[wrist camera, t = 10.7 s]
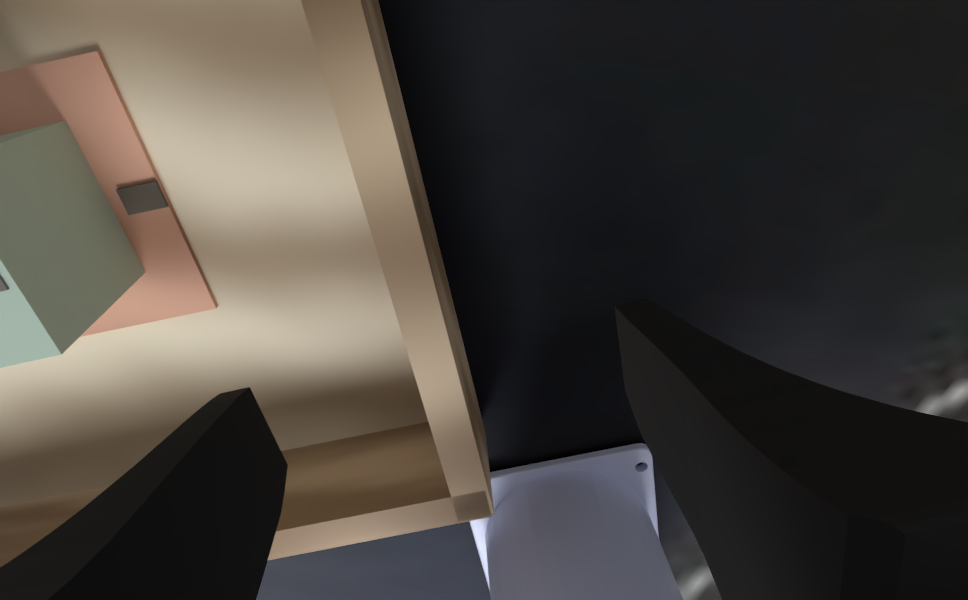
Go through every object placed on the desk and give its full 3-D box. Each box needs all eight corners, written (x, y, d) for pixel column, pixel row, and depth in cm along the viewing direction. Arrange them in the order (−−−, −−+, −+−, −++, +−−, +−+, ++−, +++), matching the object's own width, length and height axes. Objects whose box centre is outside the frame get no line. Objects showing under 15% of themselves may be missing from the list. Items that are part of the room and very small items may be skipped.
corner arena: (484, 422, 24) (494, 516, 20) (25, 513, 24) (-62, 624, 20) (340, -165, 15) (301, -225, 11) (-376, -2, 16) (-681, 2, 11)
